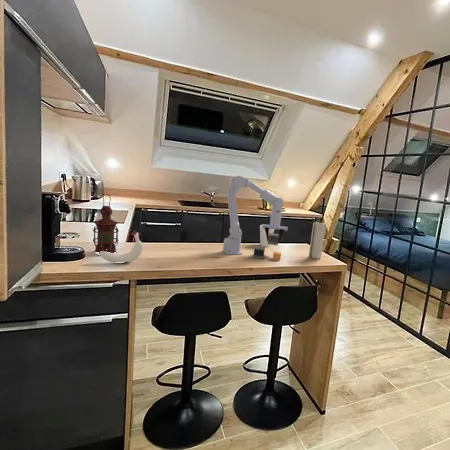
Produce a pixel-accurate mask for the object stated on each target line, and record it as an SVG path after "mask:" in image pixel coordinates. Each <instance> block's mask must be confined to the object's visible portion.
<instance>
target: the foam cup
mask: <svg viewBox="0 0 450 450" xmlns="http://www.w3.org/2000/svg"><path fill="white" fill-rule="evenodd" d="M259 231H260V232H259V236H260V237H259V239H260V240H259V241H260V243H259V245H260V247H265V248H267V247H271V245H270V244H268V241H267V236H266V232H265V228H262V224H260V225H259ZM274 231H275V229H269V233H273V234H274ZM268 236H269V234H268Z"/></svg>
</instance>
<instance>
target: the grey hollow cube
mask: <svg viewBox="0 0 450 450" xmlns="http://www.w3.org/2000/svg"><path fill="white" fill-rule="evenodd" d="M265 249H266V247H265V246H261V245H260V246H259V245H258V246H257V245H255V246H254V248H253V257H252V258H253V259H261V260H264V258H265Z"/></svg>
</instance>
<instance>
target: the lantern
mask: <svg viewBox="0 0 450 450" xmlns="http://www.w3.org/2000/svg"><path fill="white" fill-rule="evenodd" d="M105 195H106V196H109V200H108V201H109V203H108V205H105V199H104V196H105ZM102 202H103V205H102V206H101V208H100V210H99V212H100V214H101V218H100V219H98V220H95V221H94V225H95V226H94V227H93V228H92V229H93V230H92V231H93V240H92V242H93V244H94V246H95V249H94V252H95V251H96V252H99V253H100V251H105V252H110V253H114V252H116V253H117V248H116V246H118V243H119V231H120V230H119V228H118V226H117V225H118V224H119V223H118V221H116V220H113V219H112V214H113V209H112V208H111V206H110V203H111V195H110V194H107V193H103V194H102ZM96 230H97V231H96ZM96 235H97V237H96ZM96 240H97V241H96ZM106 249H107V250H106Z"/></svg>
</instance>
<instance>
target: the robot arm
mask: <svg viewBox="0 0 450 450" xmlns="http://www.w3.org/2000/svg"><path fill="white" fill-rule="evenodd" d="M242 188H250V190H251V189H252V190H253V191H254V192H256V193H258V194H259V195H260V197H261V200H264V201H265V202H267V203H268V204H270V205H271V207H272V208H271V214H270V222H269V224H264V223H262V224H261V225H262V228H265V232H266V236H267V241H268V234H269V229H274V230H276V231H277V230H278V231H279V232H278V234H279V239H278V243H280V241H281V239H282V236H283V235H284V233H285V232H287V231H288V228H289V227H288V226H283V225H281V221H282V211H283V207H284V206H285V203H284V200H283V198H281V197H279V196H278V195H277V194H275V193H273V192H272V190H270V189H263V188H262V187H260V186H259V185H257V184H256V183H254V182H253V180H250V179H247V178H245V177H244V176H242V175H236V176H234V177H233V178H232V179H231V180H230V183H229V185H228V187H227V189H226V197H227V203H228V204H227V207H228V213H229V215H228V216H229V220H230V221H229V224H230V227H229V233H230V234H229V235H228V237H225V238H223V239H224V240H223V246H222V247H223V248H222V252H223V253H225V254H226V255H243V252H242V251H241V242H242V235H243V231H242V229H241V228H240V223H239V215H238V206H237V205H238V204H237V199H236V198H237V197H236V195H237V193H238V192H239V190H241V189H242Z"/></svg>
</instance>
